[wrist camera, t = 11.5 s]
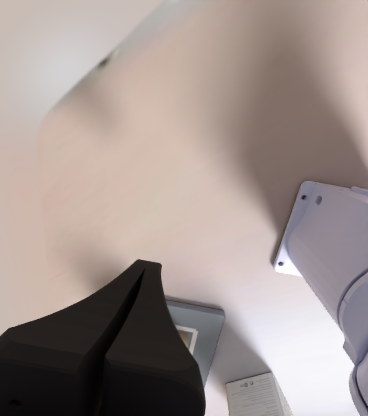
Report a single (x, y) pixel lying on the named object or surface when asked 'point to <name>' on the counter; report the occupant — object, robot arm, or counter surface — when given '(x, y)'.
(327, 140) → the counter surface
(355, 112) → the counter surface
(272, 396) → the small box
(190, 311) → the board
